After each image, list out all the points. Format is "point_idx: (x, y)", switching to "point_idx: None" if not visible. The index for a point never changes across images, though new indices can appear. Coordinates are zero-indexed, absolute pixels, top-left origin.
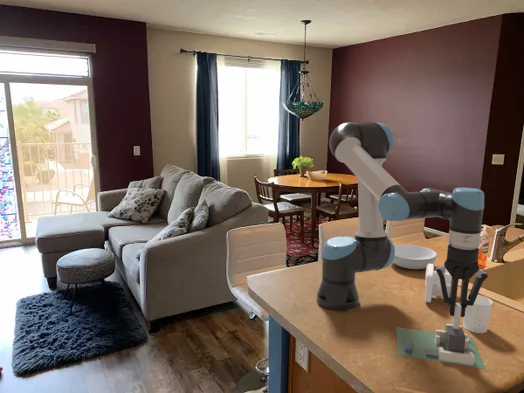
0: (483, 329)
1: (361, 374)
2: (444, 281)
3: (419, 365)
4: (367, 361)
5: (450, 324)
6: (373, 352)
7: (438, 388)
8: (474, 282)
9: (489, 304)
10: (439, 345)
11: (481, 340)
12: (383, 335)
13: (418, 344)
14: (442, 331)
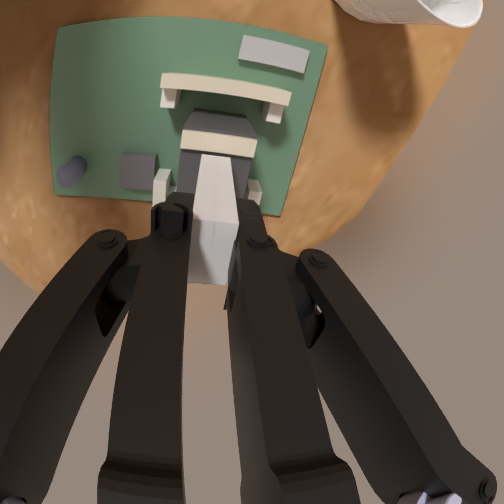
0: (384, 22)
1: (18, 269)
2: (52, 453)
3: (106, 220)
4: (12, 229)
5: (200, 139)
6: (11, 191)
7: None
8: (397, 432)
9: (465, 26)
10: (178, 106)
11: (352, 56)
12: (22, 92)
13: (107, 118)
14: (187, 86)
